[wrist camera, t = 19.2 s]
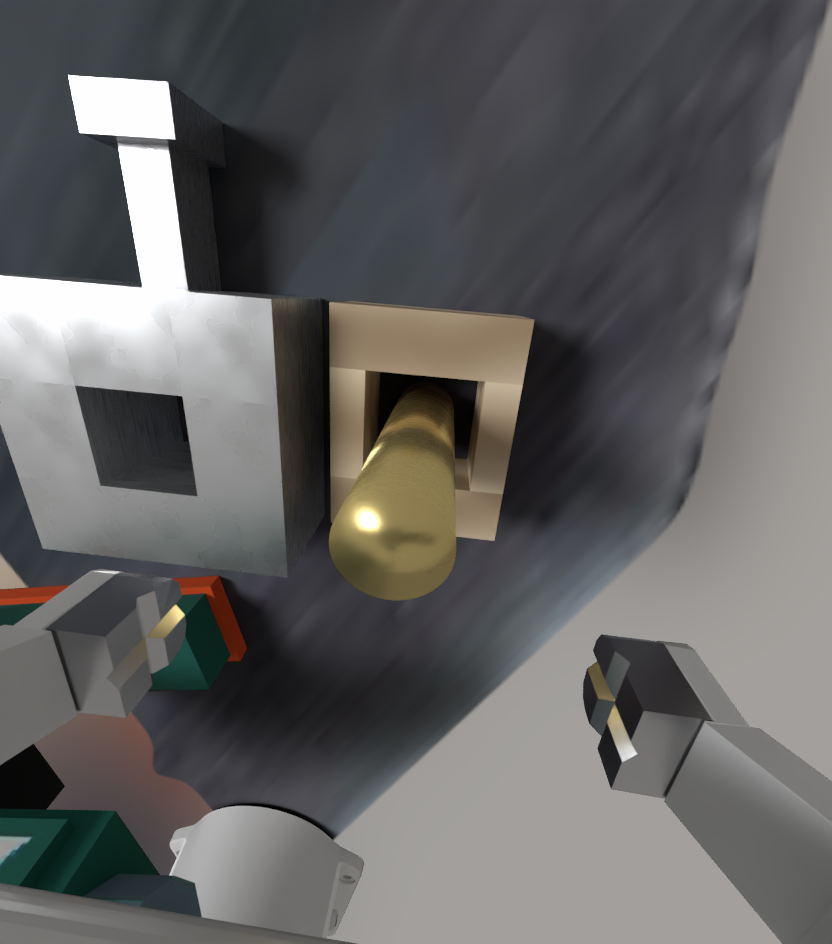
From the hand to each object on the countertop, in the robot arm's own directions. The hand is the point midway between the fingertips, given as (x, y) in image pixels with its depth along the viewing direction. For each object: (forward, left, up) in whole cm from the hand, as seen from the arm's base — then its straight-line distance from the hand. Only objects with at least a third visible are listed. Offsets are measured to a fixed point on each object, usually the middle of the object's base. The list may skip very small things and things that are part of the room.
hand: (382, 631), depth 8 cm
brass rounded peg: (+1, 0, -15) cm, 15 cm away
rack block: (+1, 0, -15) cm, 15 cm away
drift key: (+6, +12, -15) cm, 20 cm away
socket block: (0, +12, -15) cm, 19 cm away
